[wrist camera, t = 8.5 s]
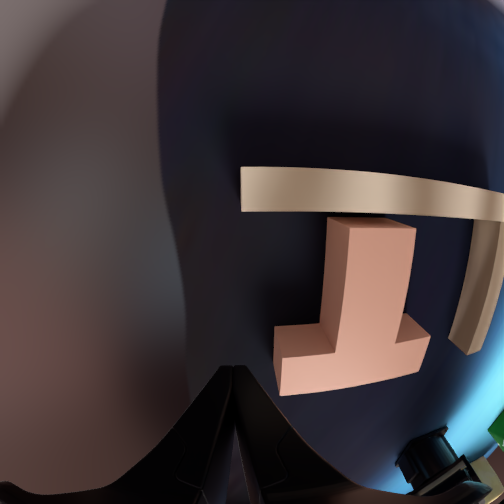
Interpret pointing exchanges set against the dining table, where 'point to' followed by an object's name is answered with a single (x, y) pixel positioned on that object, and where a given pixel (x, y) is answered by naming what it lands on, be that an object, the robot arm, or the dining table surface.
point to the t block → (355, 313)
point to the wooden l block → (399, 202)
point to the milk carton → (498, 430)
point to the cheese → (487, 478)
